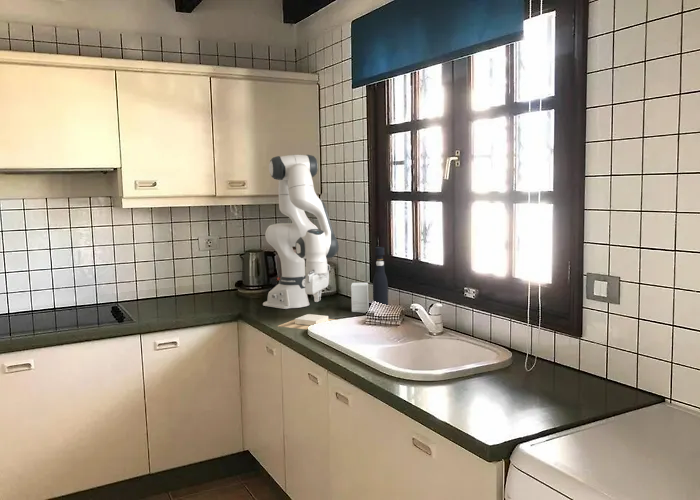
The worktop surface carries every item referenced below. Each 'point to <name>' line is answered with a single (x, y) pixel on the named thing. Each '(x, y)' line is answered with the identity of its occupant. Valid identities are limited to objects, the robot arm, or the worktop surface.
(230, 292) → the worktop surface
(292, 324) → the trivet
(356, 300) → the supplement box
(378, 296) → the navy water bottle
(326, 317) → the tile
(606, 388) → the worktop surface
